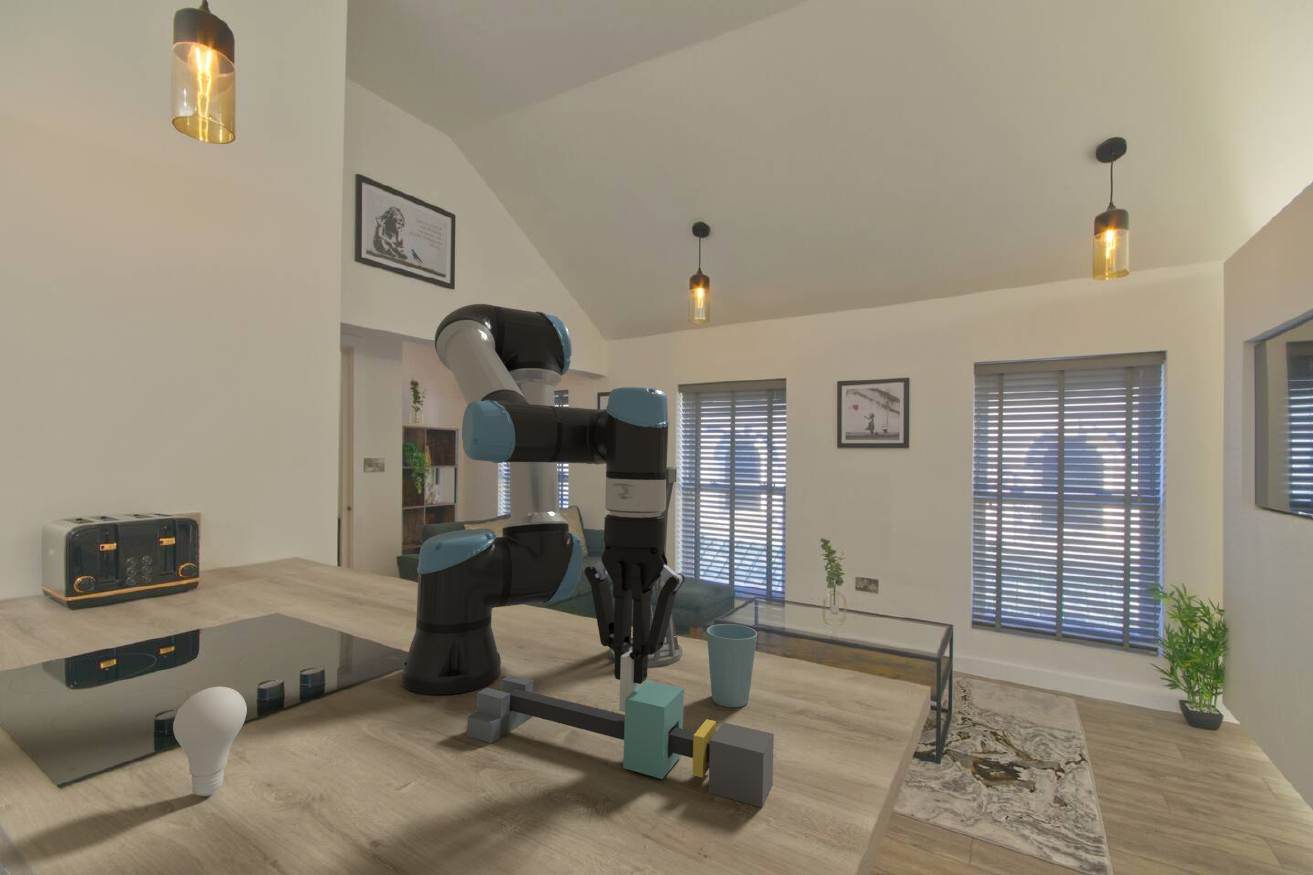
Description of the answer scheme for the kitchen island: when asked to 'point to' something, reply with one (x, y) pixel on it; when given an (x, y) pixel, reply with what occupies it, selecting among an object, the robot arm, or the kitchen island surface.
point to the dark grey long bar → (613, 725)
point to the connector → (741, 764)
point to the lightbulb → (209, 734)
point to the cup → (731, 663)
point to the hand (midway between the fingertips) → (629, 707)
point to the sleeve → (651, 728)
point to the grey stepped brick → (497, 711)
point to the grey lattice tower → (670, 647)
